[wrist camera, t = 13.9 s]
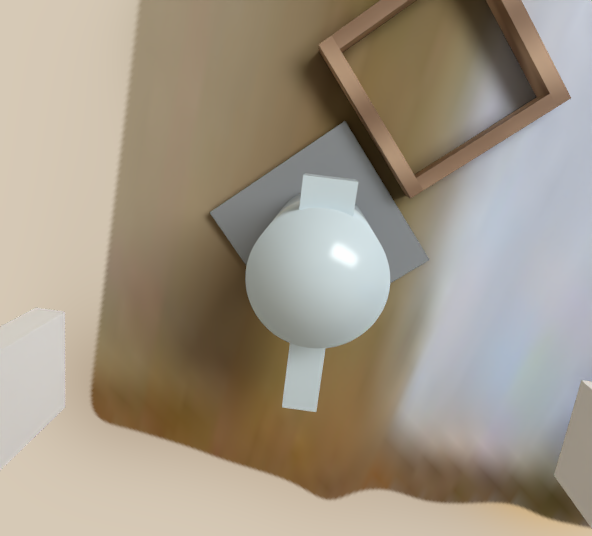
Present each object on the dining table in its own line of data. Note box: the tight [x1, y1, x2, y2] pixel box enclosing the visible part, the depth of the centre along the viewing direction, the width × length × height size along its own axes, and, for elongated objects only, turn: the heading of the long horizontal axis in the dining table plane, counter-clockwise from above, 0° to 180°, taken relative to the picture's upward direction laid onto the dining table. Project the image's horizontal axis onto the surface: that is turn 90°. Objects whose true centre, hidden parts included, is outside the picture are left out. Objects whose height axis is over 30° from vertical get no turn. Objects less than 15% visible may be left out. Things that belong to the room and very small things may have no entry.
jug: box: [245, 173, 390, 412], centre depth 29 cm, size 13×7×13 cm, turn 173°
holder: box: [319, 0, 571, 198], centre depth 32 cm, size 12×12×2 cm
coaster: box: [210, 121, 429, 283], centre depth 35 cm, size 12×12×1 cm
